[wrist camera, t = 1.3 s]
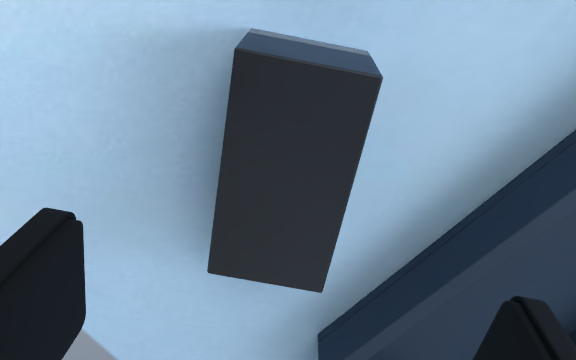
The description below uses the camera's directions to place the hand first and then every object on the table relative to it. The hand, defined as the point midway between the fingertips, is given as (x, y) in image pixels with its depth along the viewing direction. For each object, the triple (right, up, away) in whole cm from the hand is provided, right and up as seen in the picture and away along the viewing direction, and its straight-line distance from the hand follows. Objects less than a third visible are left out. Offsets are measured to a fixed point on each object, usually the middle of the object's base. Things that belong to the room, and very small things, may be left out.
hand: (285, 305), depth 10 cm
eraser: (0, +4, +7) cm, 8 cm away
